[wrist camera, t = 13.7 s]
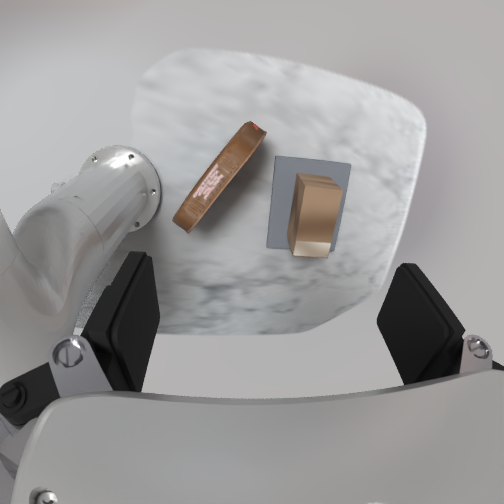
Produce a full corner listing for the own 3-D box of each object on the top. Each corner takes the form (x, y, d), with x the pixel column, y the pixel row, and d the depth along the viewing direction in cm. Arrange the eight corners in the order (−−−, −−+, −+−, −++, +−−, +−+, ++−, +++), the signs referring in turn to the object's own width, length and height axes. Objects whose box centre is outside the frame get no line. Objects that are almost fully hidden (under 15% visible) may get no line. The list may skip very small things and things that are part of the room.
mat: (266, 245, 42) (266, 247, 42) (275, 155, 35) (275, 156, 35) (333, 248, 43) (334, 250, 42) (349, 163, 36) (351, 164, 36)
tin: (195, 217, 40) (185, 248, 32) (177, 204, 38) (162, 233, 31) (266, 129, 34) (273, 139, 27) (246, 114, 33) (247, 119, 25)
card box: (296, 172, 36) (305, 186, 31) (330, 176, 36) (343, 191, 31) (286, 235, 41) (292, 256, 36) (317, 237, 41) (327, 259, 36)
